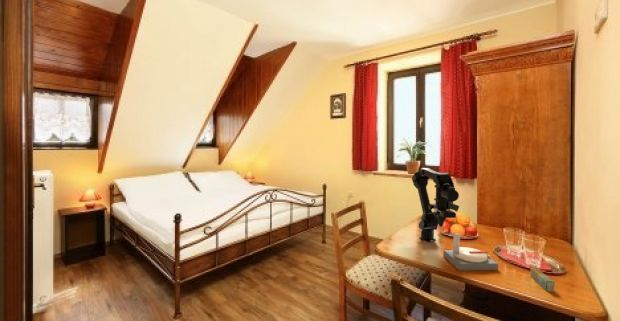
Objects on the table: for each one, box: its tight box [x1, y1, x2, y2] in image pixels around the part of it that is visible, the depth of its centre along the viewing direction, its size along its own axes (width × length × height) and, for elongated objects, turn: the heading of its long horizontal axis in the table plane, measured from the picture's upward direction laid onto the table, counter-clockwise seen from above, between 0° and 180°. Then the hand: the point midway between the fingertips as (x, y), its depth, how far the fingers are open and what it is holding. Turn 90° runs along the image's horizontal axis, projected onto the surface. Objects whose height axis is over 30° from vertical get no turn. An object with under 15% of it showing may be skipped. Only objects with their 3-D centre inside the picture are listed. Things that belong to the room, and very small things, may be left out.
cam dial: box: [452, 232, 489, 263], centre depth 131 cm, size 16×14×11 cm
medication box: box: [530, 267, 556, 293], centre depth 112 cm, size 12×3×4 cm, turn 166°
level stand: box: [443, 249, 499, 271], centre depth 131 cm, size 17×15×4 cm
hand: (440, 226), depth 147 cm, fingers closed
